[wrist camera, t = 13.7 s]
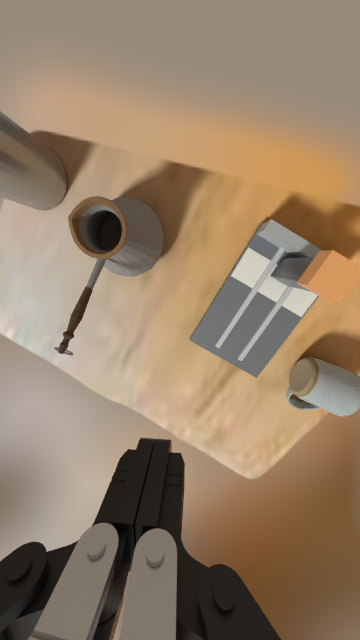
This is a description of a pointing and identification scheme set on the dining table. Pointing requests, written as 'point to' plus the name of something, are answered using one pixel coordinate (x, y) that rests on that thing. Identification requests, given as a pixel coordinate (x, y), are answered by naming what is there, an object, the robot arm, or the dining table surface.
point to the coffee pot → (113, 243)
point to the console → (256, 302)
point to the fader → (319, 274)
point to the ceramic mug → (324, 387)
